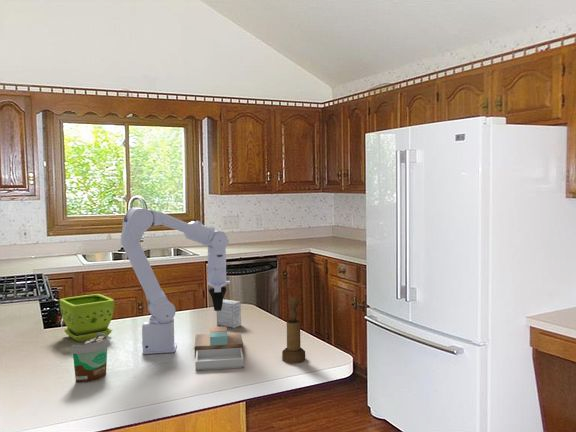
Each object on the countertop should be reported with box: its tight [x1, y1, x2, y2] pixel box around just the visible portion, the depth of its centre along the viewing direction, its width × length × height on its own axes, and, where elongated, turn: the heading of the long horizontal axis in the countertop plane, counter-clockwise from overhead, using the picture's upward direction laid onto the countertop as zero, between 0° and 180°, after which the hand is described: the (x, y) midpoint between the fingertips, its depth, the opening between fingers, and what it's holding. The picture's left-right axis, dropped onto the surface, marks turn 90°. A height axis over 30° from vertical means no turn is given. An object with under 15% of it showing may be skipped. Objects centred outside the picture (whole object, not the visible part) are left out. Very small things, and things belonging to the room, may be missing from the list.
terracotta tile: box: [209, 326, 228, 333], centre depth 159 cm, size 5×5×2 cm
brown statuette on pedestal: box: [281, 296, 306, 364], centre depth 148 cm, size 7×6×18 cm
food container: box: [70, 333, 111, 384], centre depth 136 cm, size 12×6×10 cm, turn 168°
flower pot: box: [59, 293, 115, 343], centre depth 173 cm, size 14×14×13 cm
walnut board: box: [194, 331, 244, 359], centre depth 157 cm, size 14×12×4 cm
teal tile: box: [209, 330, 228, 346], centre depth 153 cm, size 5×5×2 cm
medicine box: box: [216, 299, 242, 329], centre depth 185 cm, size 8×4×9 cm, turn 58°
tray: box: [194, 348, 245, 372], centre depth 146 cm, size 13×10×2 cm
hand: (217, 310), depth 166 cm, fingers closed
